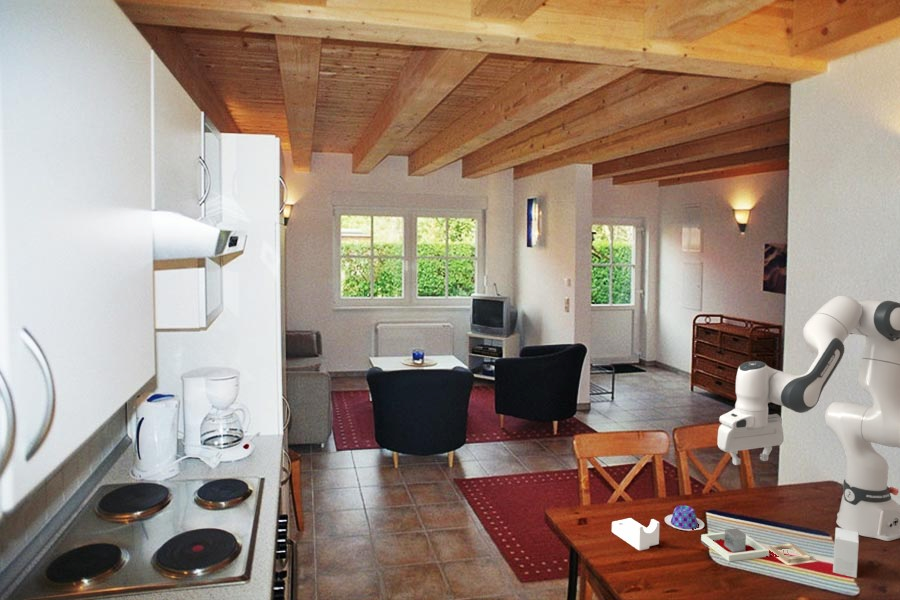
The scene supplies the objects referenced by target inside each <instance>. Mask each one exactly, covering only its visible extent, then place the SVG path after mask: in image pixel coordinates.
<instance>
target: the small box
mask: <svg viewBox="0 0 900 600" xmlns="http://www.w3.org/2000/svg"><path fill="white" fill-rule="evenodd" d="M833 545H834V547H833V563H832V573H835V574H838V575H842V576H847V577H852V578H856V579H857V577H858V564H859V548H860V547H859V545H860V535H859V532H856V531H851V530H847V529H843V528H841V527H835V534H834V544H833Z"/></svg>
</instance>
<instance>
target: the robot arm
mask: <svg viewBox="0 0 900 600" xmlns="http://www.w3.org/2000/svg"><path fill="white" fill-rule="evenodd" d="M849 335H857V336H862V337H863V336H864V338H865V341H866V342H865V346H864V349H863V353H862V355H861V356H862V357H861V360H860V361H861V363H860V365H859V366H860V367H859V372H858V375H857V384H858V385H859V387H860V389H862V390H863V391H864V392H865V393H866V394H868V395H870V396H871V399H872V403H873V404H872V405H868V404H864V403H858V402H854V401H842V400H841V401H833V402H832V403H830V404H829V405H828V407H827V408H826V410H825V412H824V421H825V424H826V426H827V428H828V429H829V430H830V431H831V432H832V433H833V434H834V435H835V436H836V438H837V439H838V441H839V442H840V445H841V447H842V449H843V452H844V456H845V479H844V480H843V483H842V492H843V494H842V496H841V502H840V506H839V511H838V512H837V514H836V517H837V518H836V524H837V525H838V527H839V528H842V529H847V530H851V531H856V532H859V536H862V537H865V538H866V537H867V538H874V539H878V540H882V541H886V542H890V541H893V540H897V539H900V504H899V503H897V502H896V500H894V499H893V498H892V496H891V494H892V495H894V496H897V495H898V494H899V489H898V488H896V487H895V488H894V487H893V486H889V487H888V477H889V476H888V475H889V464H888V462H887V460H886V458H885V457H884V456H883V455H881V454H880V453H879V452H878V451H877V450H875V448H874V447H873V444H877V445H881V446H885V447H888V448H896V449H897V448H899V449H900V302H896V301H894V300H893V301H892V300H880V299H879V300H877V299H866V300H856V299H854V298H853V297H850V296H849V295H836V296H834V297H833V298H831V299H829V300H828V301H827V302H826V303H824V304H823V305H822V306H821V307H820V308H819V309H818V310H816V312H815V313H814V314H812V316H810V318H809V319H808V320H807V321H806V323H805V325H804V326H803V328H802V337H803V339H804V341H805V343H806V345H807V347H809V348H810V350H812V351H813V352H815V353H816V354H817V356H816V357H815V359H814V360H813V362H812V363H811V365H810V367H809V368H808V370H807V371H806V372H805V373H803V374H799V375H796V374H793V373H789V372H785V371H782V370H777V369H775V368H772V367H770V366H769V365H767V364H766V362H763V361H761V360H760V361H759V360H750V361H745V362H743V363H741V364H739V366H738V368H737V372H736V376H735V395H736V401H735V404H734V408H733V409H732V410H729V411H728V412H726V413H724V414H722V415H720V416H719V418H718V419H719V420H718V421H719V423H721V424H720V425H719V426H718V430H717V446H718V447H717V448H719V450H721V451H723V452H725V453H729V456H730V457H731V458H732V459H731V460H732V464H733V465H734V466H739V465H741V464H742V463H741V458H739V457H738V455H739V454H738V453H739V451H746V450H754V449H759V448H760V449H761V448H763V450H762V453H760V454H759V460H760V461H763V462H767V461H768V460H769V455H770V454H771V451H772V450H773V447H775V446H781V445H783V443H784V442H785V441H784V429H783V418H782V417H781V416H780V415H779V414H778V413H773V414H769V406H768V404H770V403H773V404H775V405H778V406H781V407H785V408H786V409H789V410H791V411H793V412H795V413H798V414H799V413H800V414H803V413H807V412H808V411H811V410H812V409H814V408H815V406H816V405H817V404H818V402H819V400H820V397H821V394H822V392H823V390H824V389H825V386H826V385H827V383H828V381H830V378H831V377H832V375H833V373H834V372H835V371H836V370H837V367H838V366H839V364H840V363H841V360H842V359H843V356H844V353H845V345H844V341H845V340H847V338H848V337H849ZM872 443H873V444H872Z"/></svg>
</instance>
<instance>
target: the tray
mask: <svg viewBox="0 0 900 600" xmlns="http://www.w3.org/2000/svg"><path fill="white" fill-rule="evenodd" d="M700 536H701V537H700V541H701V542H700V543H701V544H702V545H703V546H705V547H706V548H707V547H708V549H709V548H710V549H712V550H713V551H714V552H715V553H717V554H718V555H719V556H721V557H722V558H723V559H724V560H726V561H727V562H728V563H727V564H728V565H730V564H731V563H730V562H736V561H744V560H752V559H760V558H767V557H766V556H768V557H770V553H769V550H768V549H766V548H767V547H765V546H763V545H762V544H761V543H760V542H758V541H756V540H755V539H753V538H752V537H750V536H749V535H747V534H746V544H747V545H748V544H749V545H748V546H750V547H752V549H754V550H748V551H746V550H745V551H738V552H731V553H730V552H729V551H728V550H726V549H725V548H724V547H722V546H721V545H719V544H718V543H717V542H716V541H720V539H722V540H725V531H721V532H720V531H719V532H712V533H711V532H710V533H705V534H704V533H703V534H701V535H700ZM713 540H714V541H713ZM724 560H723V561H724Z"/></svg>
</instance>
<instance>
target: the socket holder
mask: <svg viewBox="0 0 900 600" xmlns="http://www.w3.org/2000/svg"><path fill="white" fill-rule="evenodd" d="M767 548H768V549H769V550H770V551H771V552H773V553H774V554H776V555H777V556H779V557H775V555H774V556H773V557H775V558H776V559H778V560H779V561H781V562H782V563H783V564H785V565H786V566H793V565H800V564H801V565H802V564H809V563H810V564H811V563H815V562H816V563H818V560H817V559H816V558H814V555H813V556H812V555H811V554H810V553H808V552H806V551H805V550H803V549H802V548H800V547H798V546H797V545H795V544H794V543H792V542H791V543H783V544H775V545H769V546H767ZM790 548H791V549H793V550H795V551H796V552H798V553H799V554H800V556H790V555H784V554H785V553H784V550H783V553H781V552H780V551H778V550H782V549H790ZM796 552H795V553H796ZM787 553H788V550H787ZM791 553H792V551H791ZM788 554H789V553H788Z"/></svg>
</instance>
